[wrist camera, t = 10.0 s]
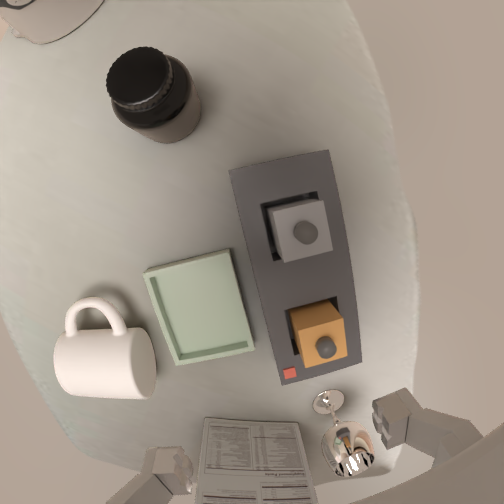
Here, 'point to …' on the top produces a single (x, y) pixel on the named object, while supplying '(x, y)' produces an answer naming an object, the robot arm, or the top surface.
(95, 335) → the mug
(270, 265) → the strip
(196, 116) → the supplement bottle
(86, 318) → the top surface
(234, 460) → the supplement box
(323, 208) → the gray knobbed block
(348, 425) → the wineglass
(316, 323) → the plug
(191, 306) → the tray
